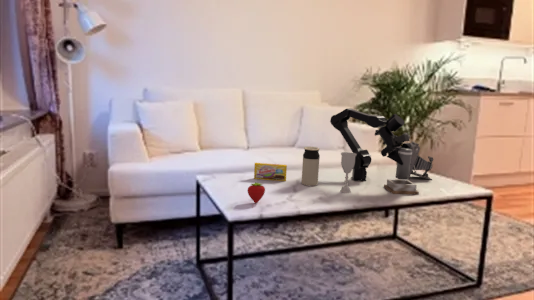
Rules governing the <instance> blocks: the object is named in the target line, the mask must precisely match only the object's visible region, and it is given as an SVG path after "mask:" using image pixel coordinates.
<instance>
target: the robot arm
mask: <svg viewBox="0 0 534 300" xmlns="http://www.w3.org/2000/svg"><path fill="white" fill-rule="evenodd" d="M351 118H352V119H356V120H357V121H361V122H364V123H366V124H367V125H368V126H369V127H372V129H375V131H374V136H375V137H376V136H380V138H381V140H382V141H383V142H382V144H383V145H385V147H384V148H382V149H381V150H380V155H381V156H382V157H386V158H388V159H390V160H391V161H394V162H396V164H397V163H399V164H400V165H403V162H402V160H401V158H400V156H399V154H398V151H399V148H407V149H410V148H411V147H412V146H411V144H410V143H411V142H410V140H411V135H409V133H407V132H405V133H402V134H400V135H395V134H394V133H395V132H397V131H398V130H399V129H400V128H402V127H403V126H405V121H404V119H403V118H402V117H401V116H399V115H398V114H397V113H394V114H392V115H391V117H390V118H388V119H387V118H386V117H385V116H383V115H377V114H369V113H366V112H362V111H359V110H356V109H353V108H351V107H350V108H345V109H343V110H342V111H340V112H338V113H336V114H333V115H331V117H330V121H329V122H330V124H331V126H333V128H334V129H335V130H336V131H338V132H339V133H340V135H341V136H342V138H343V139H344V140H345V142H346V144H347V146H348V147H349V149H350V151H351V153H356V154H357V155H356V156H355V165H354V167H353V169H352V171H351V172H352V175H351V177H350V178H351V179H352V180H353V181H357V182H358V181H359V182H361V181H362V182H366V181H367V177H368V176H367V173H368V172H367V168H369V166H370V165H371V163H372V154H370V153H369V150H368V149H363V148H362V147H361V145H360V144H359V142H358V141H357V139H356V138H355V136H354V135H353V133H352V132H351V130H350V128H349V123H348V121H349V120H350V119H351ZM378 128H379V129H378ZM393 132H394V133H393Z"/></svg>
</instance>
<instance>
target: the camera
mask: <svg viewBox="0 0 534 300" xmlns="http://www.w3.org/2000/svg"><path fill="white" fill-rule="evenodd" d="M409 143H410V144H411V146H412V147H411V148H410V149H411V150H412V155H411V163H410V171H409V178H410V177H411V175H412V176H416V177H420V178H423V179H426V180H430V181H433V179H432V178H431V177H430V176H429V174H428V172H429V171H431V170H432V169H433V165H434V164H433V162H434V157H432V156H429V155H428V156H427V159H428V161H427V160H426V159H424V158H423V157H421V156H420V155H419V153H420V150H421V148H420V145H419V143H418V142H415V141H414V140H413V141H412V140H411V142H409ZM417 171H424V172H423V174H422V173H418V172H417Z"/></svg>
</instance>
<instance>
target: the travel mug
mask: <svg viewBox="0 0 534 300" xmlns="http://www.w3.org/2000/svg"><path fill="white" fill-rule="evenodd" d="M303 149H304V152H303V155H302V169H301V184H302V185H303V186H306V187H307V186H308V187H315V186H317V185H319V169H320V154H319V151H320V148H319V147H317V146H305V147H304V148H303Z"/></svg>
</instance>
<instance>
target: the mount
mask: <svg viewBox="0 0 534 300" xmlns="http://www.w3.org/2000/svg"><path fill="white" fill-rule="evenodd" d="M383 187H384V188H385V190H387V191H389V193H391V194H392V195H419V194H420V191H418V190H417V184H416V183H414V182H412V180H411V181H410V179H407V180H402V179H397V178H395V179H394V178H393V179H392V178H387V179H386V184H385V183H384V184H383Z"/></svg>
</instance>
